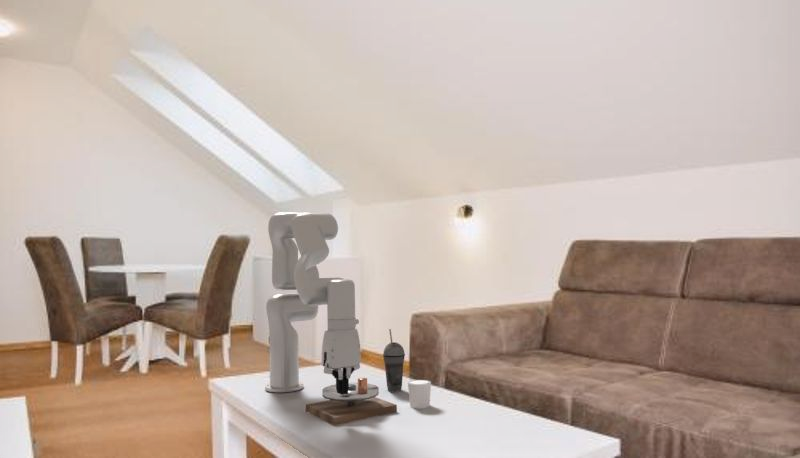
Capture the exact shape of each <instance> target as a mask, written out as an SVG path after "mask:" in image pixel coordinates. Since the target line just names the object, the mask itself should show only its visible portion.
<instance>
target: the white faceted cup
mask: <svg viewBox="0 0 800 458" xmlns="http://www.w3.org/2000/svg"><path fill="white" fill-rule="evenodd" d="M431 387H432V381H431V380H428V379H412V380H409V381H407V388H408V398H409V407H410V408H413V409H427V408H429V407H430V404H431V402H430V401H431V390H432V389H431Z"/></svg>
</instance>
